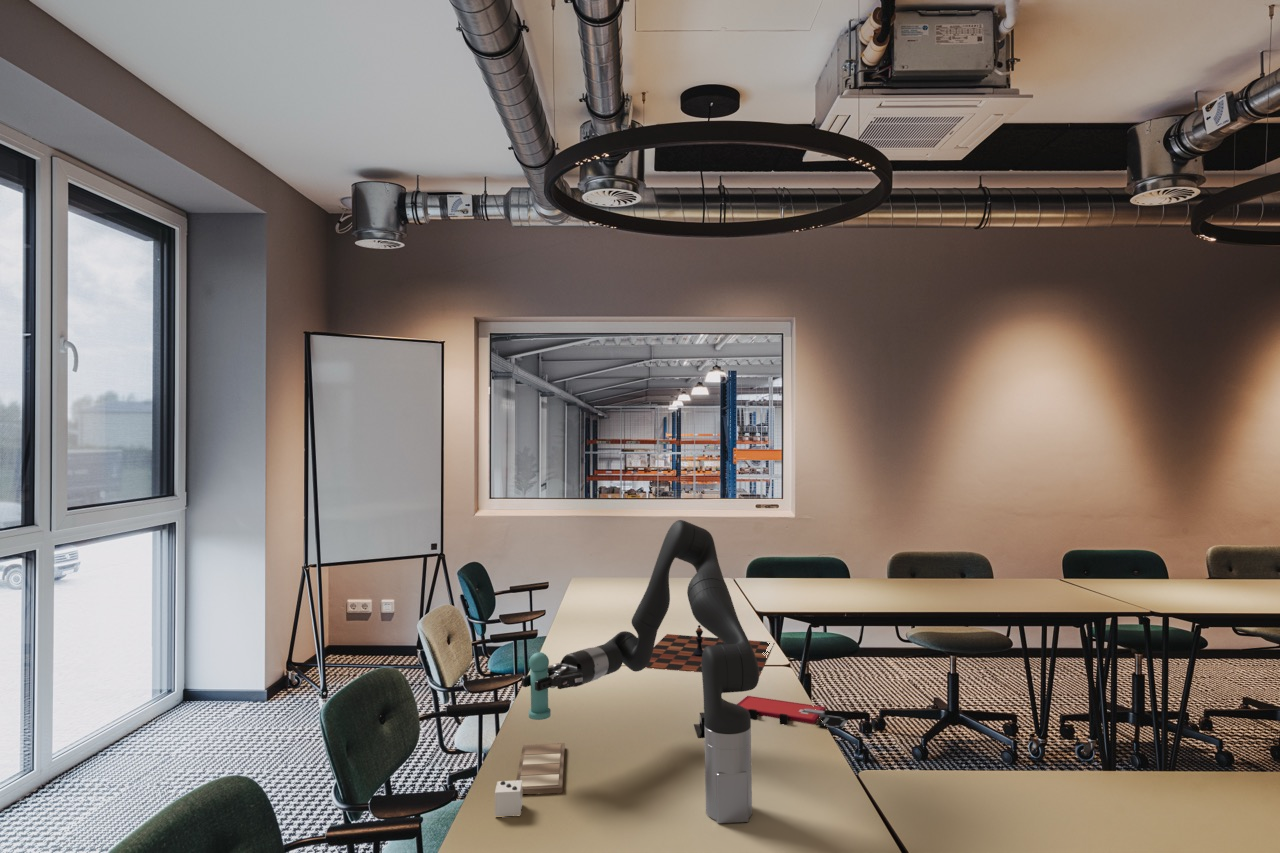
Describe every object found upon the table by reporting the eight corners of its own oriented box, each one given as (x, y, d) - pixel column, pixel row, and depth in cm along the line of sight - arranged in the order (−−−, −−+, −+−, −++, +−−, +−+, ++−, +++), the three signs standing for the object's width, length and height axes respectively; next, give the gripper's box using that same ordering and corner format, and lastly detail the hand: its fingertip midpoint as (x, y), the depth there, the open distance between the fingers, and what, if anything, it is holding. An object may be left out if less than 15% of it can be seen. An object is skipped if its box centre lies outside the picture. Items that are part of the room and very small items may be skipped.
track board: (562, 793, 165) (562, 786, 165) (514, 795, 164) (514, 788, 164) (564, 748, 188) (564, 742, 188) (523, 749, 187) (522, 744, 187)
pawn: (550, 719, 170) (549, 655, 171) (528, 720, 170) (527, 656, 170) (551, 711, 175) (550, 649, 175) (529, 712, 175) (528, 650, 175)
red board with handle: (839, 735, 194) (853, 716, 207) (839, 723, 194) (853, 705, 207) (727, 717, 209) (747, 700, 222) (727, 706, 209) (747, 690, 222)
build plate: (723, 742, 192) (723, 723, 192) (694, 743, 192) (693, 725, 191) (716, 723, 204) (716, 705, 204) (688, 724, 204) (688, 706, 204)
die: (520, 816, 155) (520, 788, 155) (495, 817, 155) (494, 790, 155) (522, 804, 160) (522, 777, 160) (497, 805, 160) (497, 778, 160)
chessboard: (635, 668, 252) (635, 634, 252) (666, 636, 290) (666, 607, 290) (759, 679, 241) (758, 644, 241) (774, 645, 279) (774, 614, 279)
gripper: (563, 645, 188) (508, 661, 175) (606, 655, 179) (551, 673, 166) (564, 676, 188) (508, 695, 175) (607, 688, 179) (551, 708, 166)
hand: (529, 684), depth 171 cm, fingers closed on pawn, 3 cm apart
